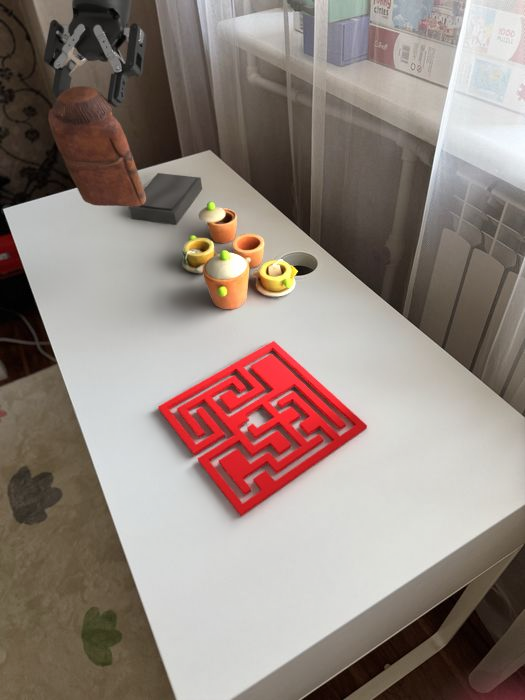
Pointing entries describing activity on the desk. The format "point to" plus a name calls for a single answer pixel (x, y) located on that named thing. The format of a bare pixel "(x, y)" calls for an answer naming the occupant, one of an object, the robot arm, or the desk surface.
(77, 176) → the wooden figurine
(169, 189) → the block
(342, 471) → the desk surface
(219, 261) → the toy tea set
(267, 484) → the maze puzzle
